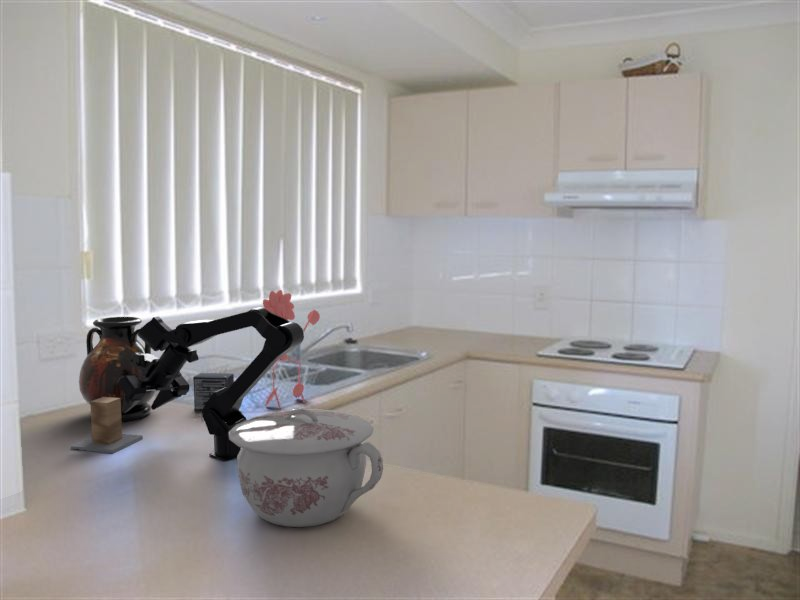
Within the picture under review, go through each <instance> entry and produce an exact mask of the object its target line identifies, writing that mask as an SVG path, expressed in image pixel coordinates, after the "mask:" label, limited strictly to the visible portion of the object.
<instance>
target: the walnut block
mask: <svg viewBox="0 0 800 600" xmlns="http://www.w3.org/2000/svg"><path fill="white" fill-rule="evenodd" d="M89 406H90V412H91V415H90V420H91V422H90V423H91V437H92V443H99V444H112V443H114V442H116V441H118V440H120V439H122V434H123V427H122V426H123V425H122V423H123V422H122V420H121V398H112V397H102V398H99V399H96V400H94V401H91V402H90V405H89Z"/></svg>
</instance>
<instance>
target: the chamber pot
mask: <svg viewBox="0 0 800 600" xmlns="http://www.w3.org/2000/svg"><path fill="white" fill-rule="evenodd" d="M374 429H375V428H374V427H373V426H372V424H371V423H370V422H369V421H368V420H367V419H365V418H363V417H360V416H358V415H355V414H352V413H346V412H343V411H338V410H329V409H316V408H315V409H311V408H310V409H309V408H308V409H307V408H306V409H305V408H300V407H298V408H293V409H287V410H280V411H274V412H267V413H264V414H260V415H257V416H253V417H250V418H246V420H244V421H242V422H240V423H238V424H236V425H235V426H234V427H233V428H232V429H231V430H230V431H229V440H231V441H232V442H233V443H234V444H236V445H237V446H239V447H240V448H241V450H240V452H239V454H238V456H237V457H236V460H237V461H236V462H237V463H236V464H237V476H238V481H239V484H240V489H241V492H242V495H243V496H244V498H245V500H246V502H248V504H249V506H250V507H251V508H252V510H253V511H254V513H256V514H257V515H258V516H259V517H260V518H261V519H262V520H264V521H265V522H267V523H270V524H273V525H277V526H282V527H291V528H295V527H296V528H306V527H313V526H318V525H323V524H325V523H326V524H327V523H330V522H332V521H334V520H336V519H339V518H340V517H341V516H342V515H344V514H345V513H346V511H348V510H349V509H350V507H352V505H353V504H354V503H355V502H356V501H357V500H358V499H359V498H360V497H361V496H362V495H364V494H366V493H368V492H370V491H371V490H373V489H374V488H375V487H376V486H377V484H378V483H379V482H380V480H381V479H382V476H383V471H384V463H383V462H384V461H383V460H384V459H383V456H382V453H381V452H380V450H379V449H377V447H376V446H375V445H374V444H373V443H371V441H366V440H367V439H369V438H370V437H371V436H372V435H373V433H374ZM364 441H366V442H364ZM363 442H364V443H363ZM367 457H368V458H369V460H370V464H371V465H370V466H371V473H370V477H369V480H368V481H367V482H366V483H365V485H364V486H362V485H363V480H364V477H365V472H366V466H367Z"/></svg>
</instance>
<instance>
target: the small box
mask: <svg viewBox="0 0 800 600" xmlns="http://www.w3.org/2000/svg"><path fill="white" fill-rule="evenodd" d="M234 376H235V375H234V373H221V372H213V373H212V372H209V373H208V372H201V373H198V374H197V375H194V376H193V377H192V379H193V398H194V401H193V404H194V410H193V411H194V412H202V409H203V407H204V406H205V405H203V403H205V402H207V401H208V400H209V398H210V397H211V395H212V394H213V393H214V392H216V391H218V390H221V389H223V388H225V387H227V388H229V387H230V386H231V385H232V384H233V383H234V382H235V378H234Z"/></svg>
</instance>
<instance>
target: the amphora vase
mask: <svg viewBox="0 0 800 600" xmlns="http://www.w3.org/2000/svg"><path fill="white" fill-rule="evenodd" d="M141 323H142V319H141V318H140V317H135V316H111V317H102V318H97V319H95V320H94V321H93V322H92V324H93V327H92V328H91V329H89V330H88V332H87V335H86V339H85V340H86V342H85V343H86V357H85V359H84V360H83V362H82V365H81V367H80V371H79V376H78V377H79V378H78V385H79V386H78V387H79V392H80V394H81V396H82V398H83V400H84V401H85V402H86V403H87V404H89V406H90V402H91V401H94V400H96V399H99V398H102V397H112V398H121V420H122V423H123V422H129V421H133V420H138V419H141V418H143V417H146V416H148V415H149V414H150V413H151V411H152V408H151V406H152V405H150V404H149V402H151V400H153V398H154V397H155V395H156V393H157V392H158V391H156V390H153V391H146V394H145V396H144V397H142V400H141V401H140V402H139V403H138V404H136V405H135V406H134V407H133V408H131V409H130V410H129V411H127V412H126V413H123V411H122V406H123V401H124V392H123V390H122V389H121V388H120V386H119V385H118V384H117V382H118V381H119V379H120V378H121V376H129V375H137V376H138V378H139V379H140V380H141V381H142V382H143V381H146V379H147V378H146V377H144V376H143V375H142V372H143V371H142V370H140V369H139V368H137V367H134V366H133V365H131V364H130V360H131V357H132V356H133V355H134V354H135V353H141V354H152V350H151V349H152V348H151V347H149V346H148V345H147V344H146V343H145V342H144V345H143V344H142V343H141V342H140V341H139V340H138V332H139V330H140V328H139V329H136V330H135V328H136V327H137V326H138V325H140V324H141ZM95 333H96V334H97V335H98V338H99V341H98V343H97V344H96V345H95V346H94V345H93V340H94V335H95ZM89 414H90V416H91V411H90V413H89Z"/></svg>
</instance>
